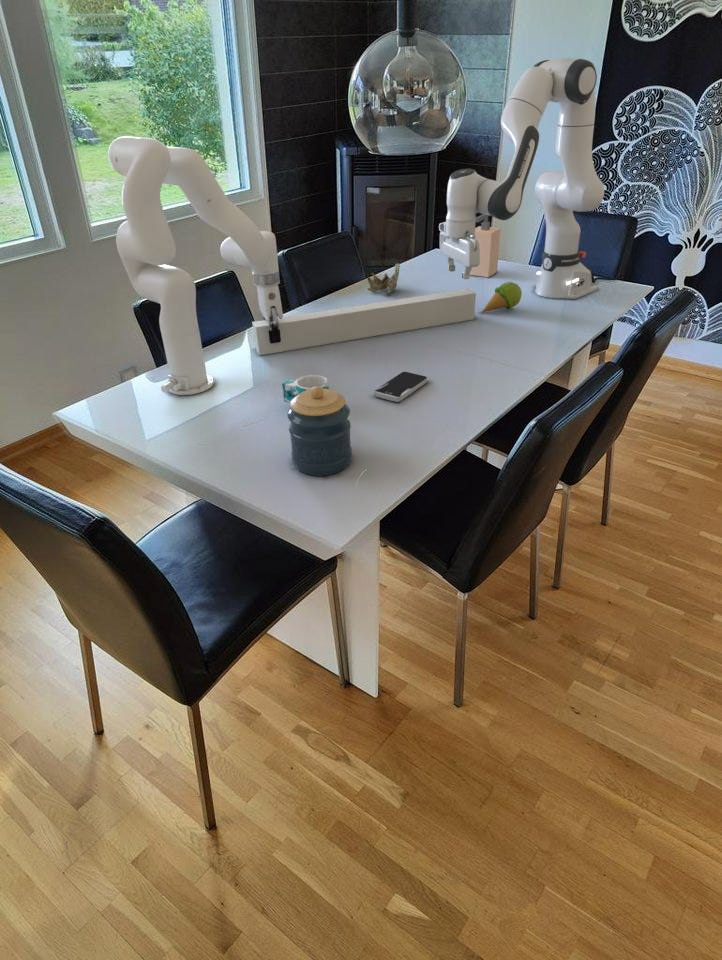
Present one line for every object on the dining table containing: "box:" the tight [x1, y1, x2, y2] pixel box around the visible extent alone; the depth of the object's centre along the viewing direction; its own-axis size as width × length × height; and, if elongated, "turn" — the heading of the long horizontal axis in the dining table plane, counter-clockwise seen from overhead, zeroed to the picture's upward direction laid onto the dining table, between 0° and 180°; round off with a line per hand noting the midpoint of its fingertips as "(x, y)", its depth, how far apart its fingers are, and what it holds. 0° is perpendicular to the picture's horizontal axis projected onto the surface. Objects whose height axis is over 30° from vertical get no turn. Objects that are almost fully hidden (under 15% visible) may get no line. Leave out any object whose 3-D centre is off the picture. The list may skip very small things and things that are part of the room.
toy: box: [481, 281, 523, 313], centre depth 221 cm, size 9×9×15 cm
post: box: [251, 288, 477, 356], centre depth 207 cm, size 71×5×9 cm, turn 110°
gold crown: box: [367, 263, 401, 296], centre depth 243 cm, size 9×15×10 cm
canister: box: [287, 386, 353, 476], centre depth 141 cm, size 13×13×18 cm
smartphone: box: [373, 371, 428, 403], centre depth 174 cm, size 8×1×15 cm
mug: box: [281, 374, 330, 404], centre depth 164 cm, size 8×12×8 cm
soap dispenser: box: [469, 213, 501, 278], centre depth 252 cm, size 13×9×22 cm
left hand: (273, 338), depth 199 cm, fingers closed on post, 5 cm apart
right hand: (458, 274), depth 210 cm, fingers open, 8 cm apart
